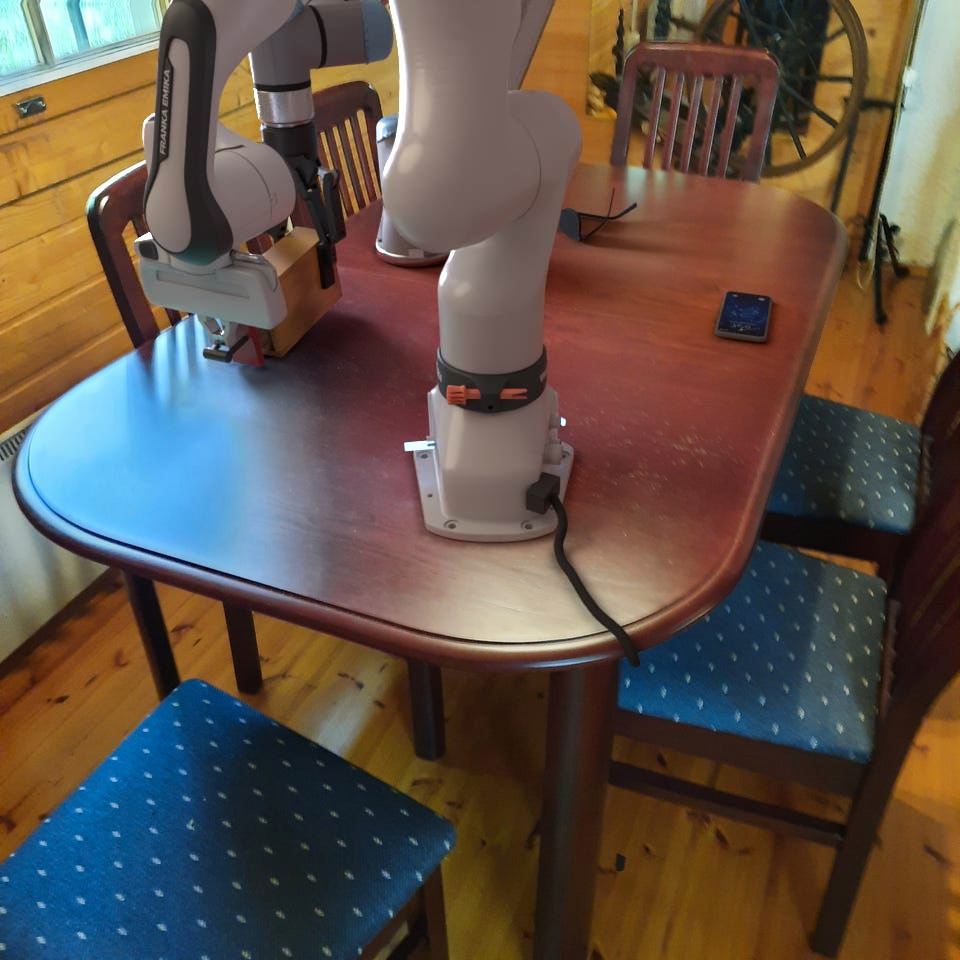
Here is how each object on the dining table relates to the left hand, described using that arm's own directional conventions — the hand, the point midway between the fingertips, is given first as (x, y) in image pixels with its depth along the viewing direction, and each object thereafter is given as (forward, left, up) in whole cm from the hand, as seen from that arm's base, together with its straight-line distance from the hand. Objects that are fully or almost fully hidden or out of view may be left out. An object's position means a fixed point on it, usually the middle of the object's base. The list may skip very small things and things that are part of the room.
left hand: (309, 282), depth 129 cm
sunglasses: (-55, +23, -5) cm, 59 cm away
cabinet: (+5, 0, -4) cm, 6 cm away
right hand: (+21, +2, 0) cm, 21 cm away
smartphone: (-28, +59, -5) cm, 65 cm away
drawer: (+12, +1, -4) cm, 13 cm away
